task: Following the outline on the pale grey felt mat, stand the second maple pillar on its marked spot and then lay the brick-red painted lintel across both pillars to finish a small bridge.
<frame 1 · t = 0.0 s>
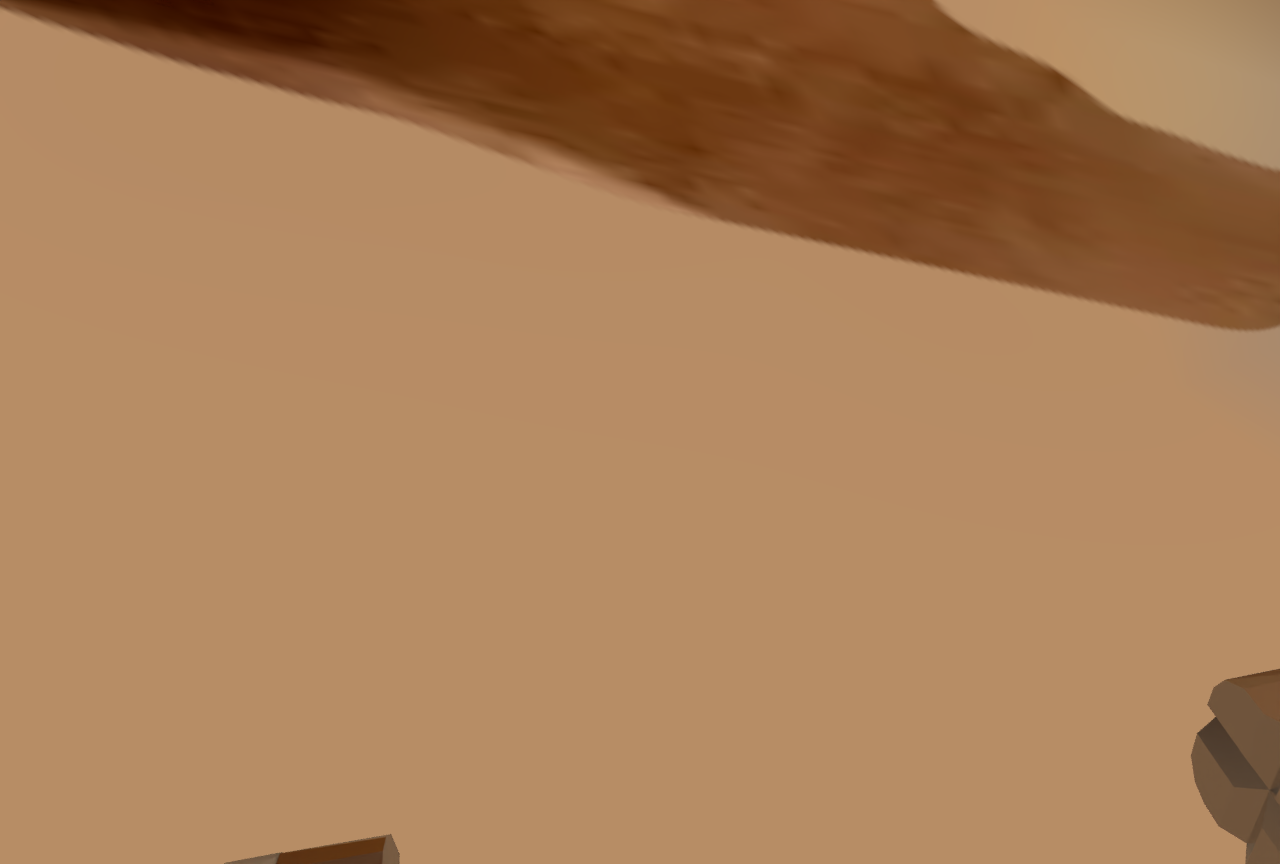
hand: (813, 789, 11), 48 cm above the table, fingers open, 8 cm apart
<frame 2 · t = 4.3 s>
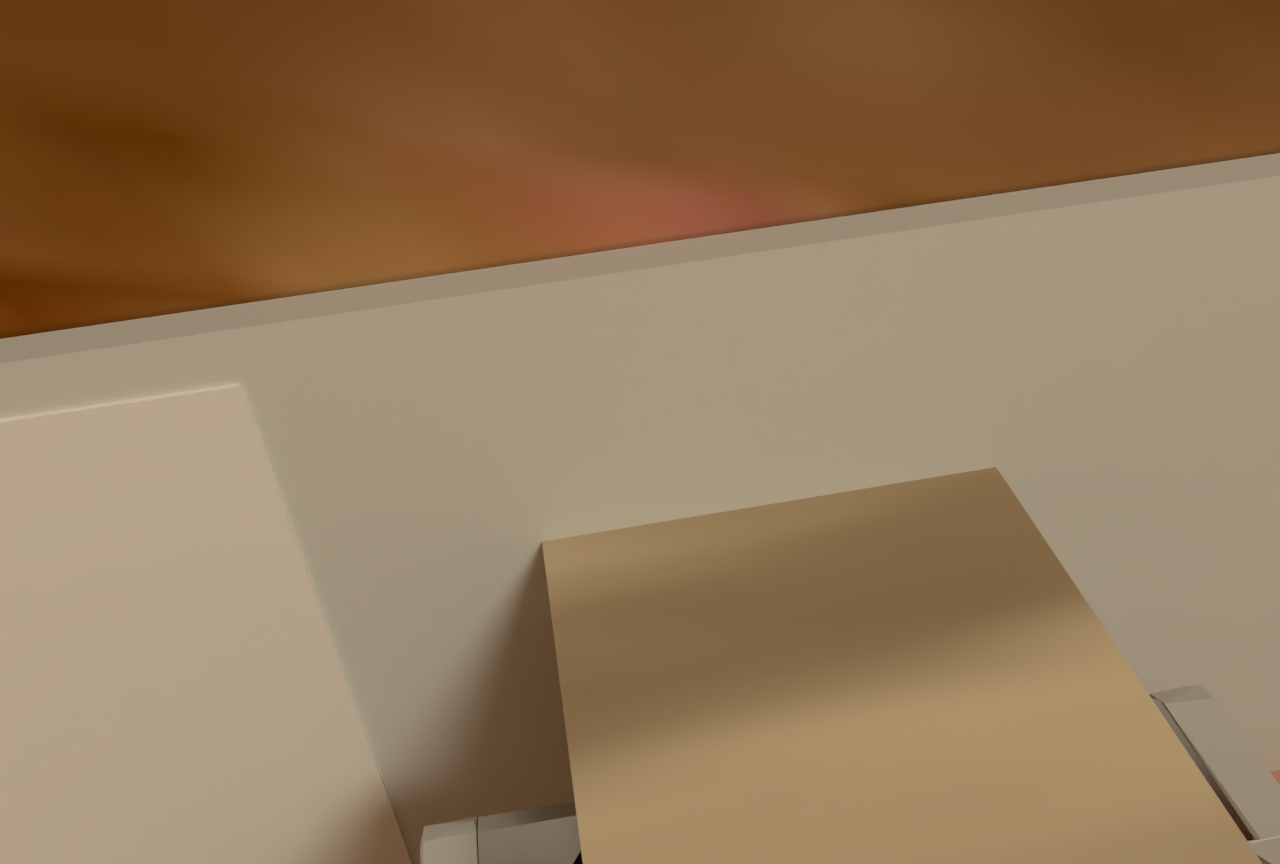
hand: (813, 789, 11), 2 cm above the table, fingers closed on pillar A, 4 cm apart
blueprint mat: (703, 743, 13), on the table
pillar A: (773, 659, 12), resting on blueprint mat, touching gripper
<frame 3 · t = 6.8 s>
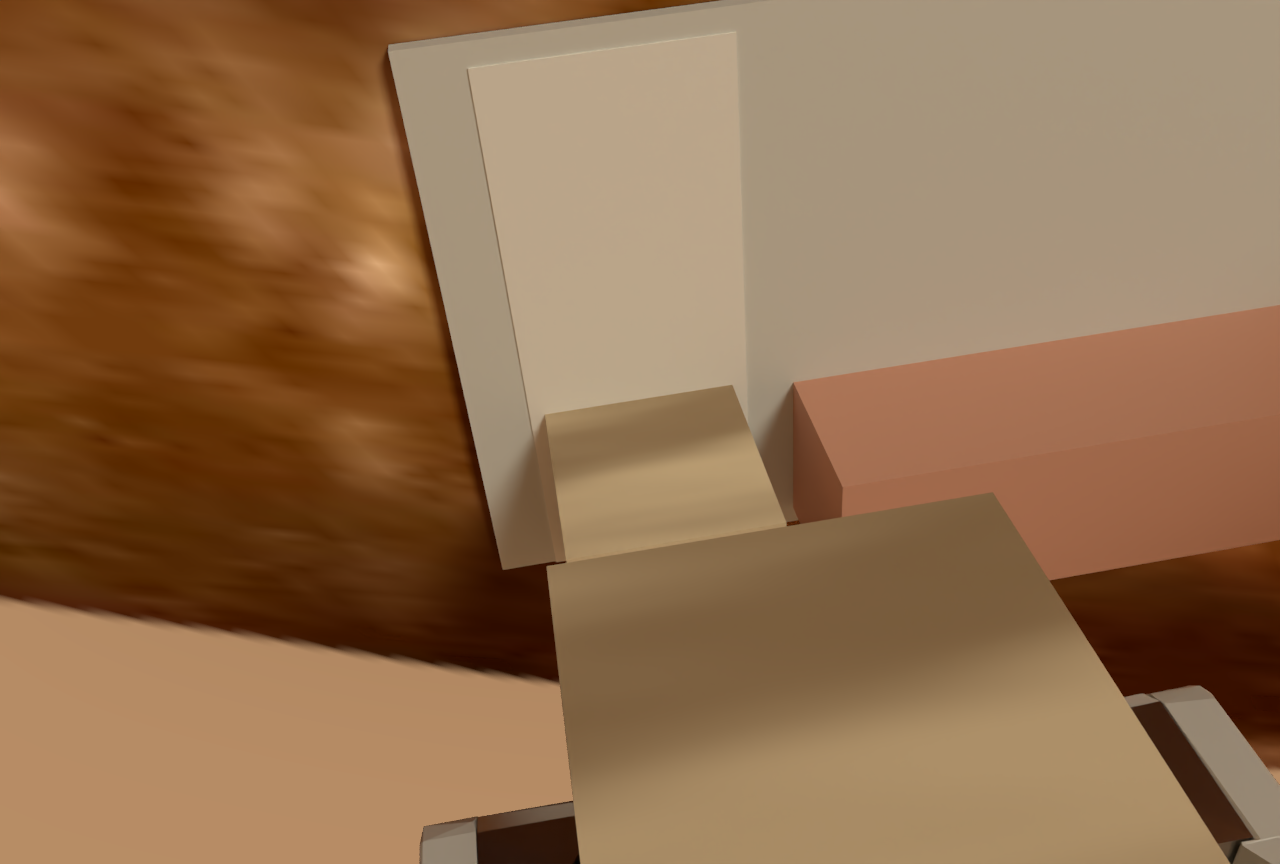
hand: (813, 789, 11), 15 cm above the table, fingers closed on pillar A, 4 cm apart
pillar B: (646, 472, 28), resting on blueprint mat
blueprint mat: (893, 277, 26), on the table
lintel: (1031, 408, 28), resting on blueprint mat
pillar A: (775, 680, 12), point 14 cm above the table, touching gripper
when the fingers open (3 cm above the table, at t = 9.3 s): pillar A stays where it is, resting on blueprint mat.
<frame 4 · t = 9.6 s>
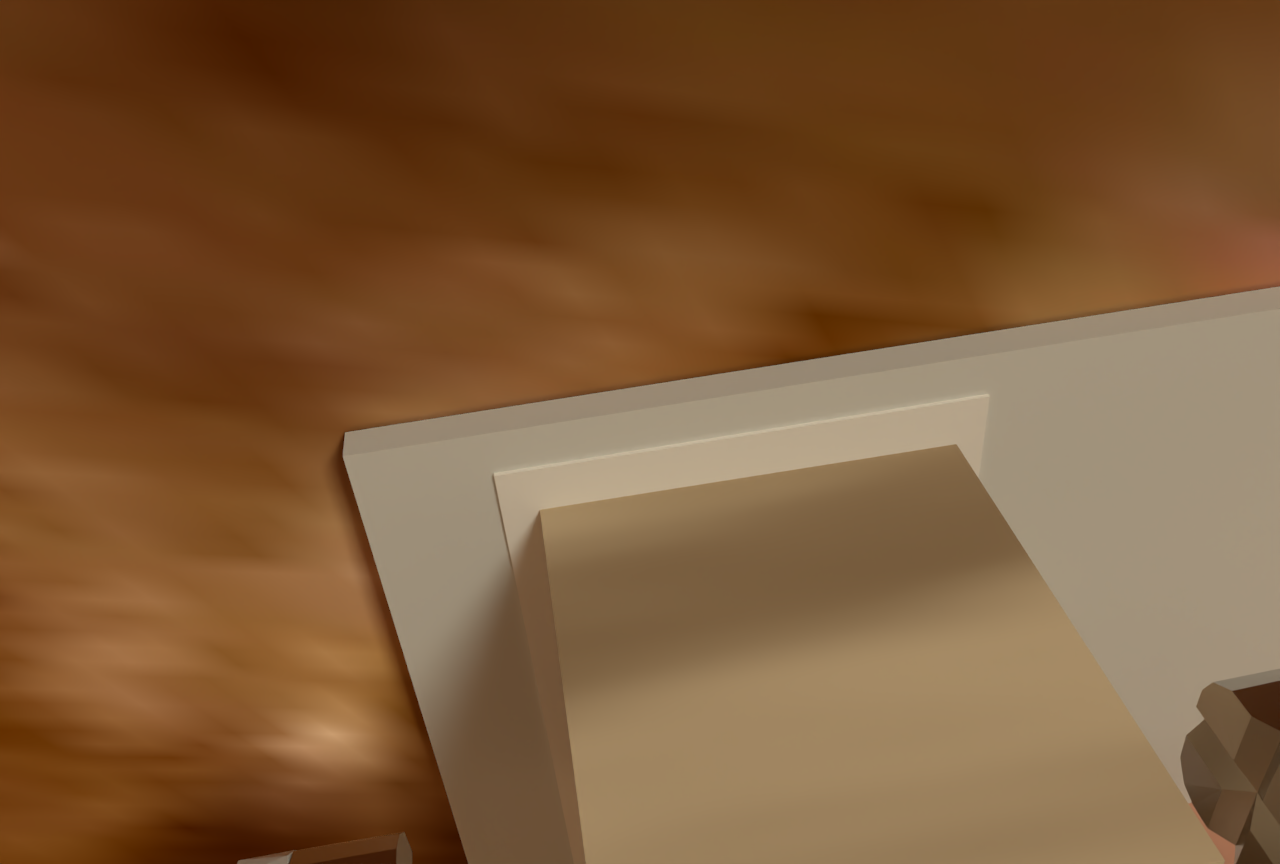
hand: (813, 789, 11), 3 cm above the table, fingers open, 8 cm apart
blueprint mat: (1172, 693, 16), on the table
pillar A: (753, 624, 13), resting on blueprint mat
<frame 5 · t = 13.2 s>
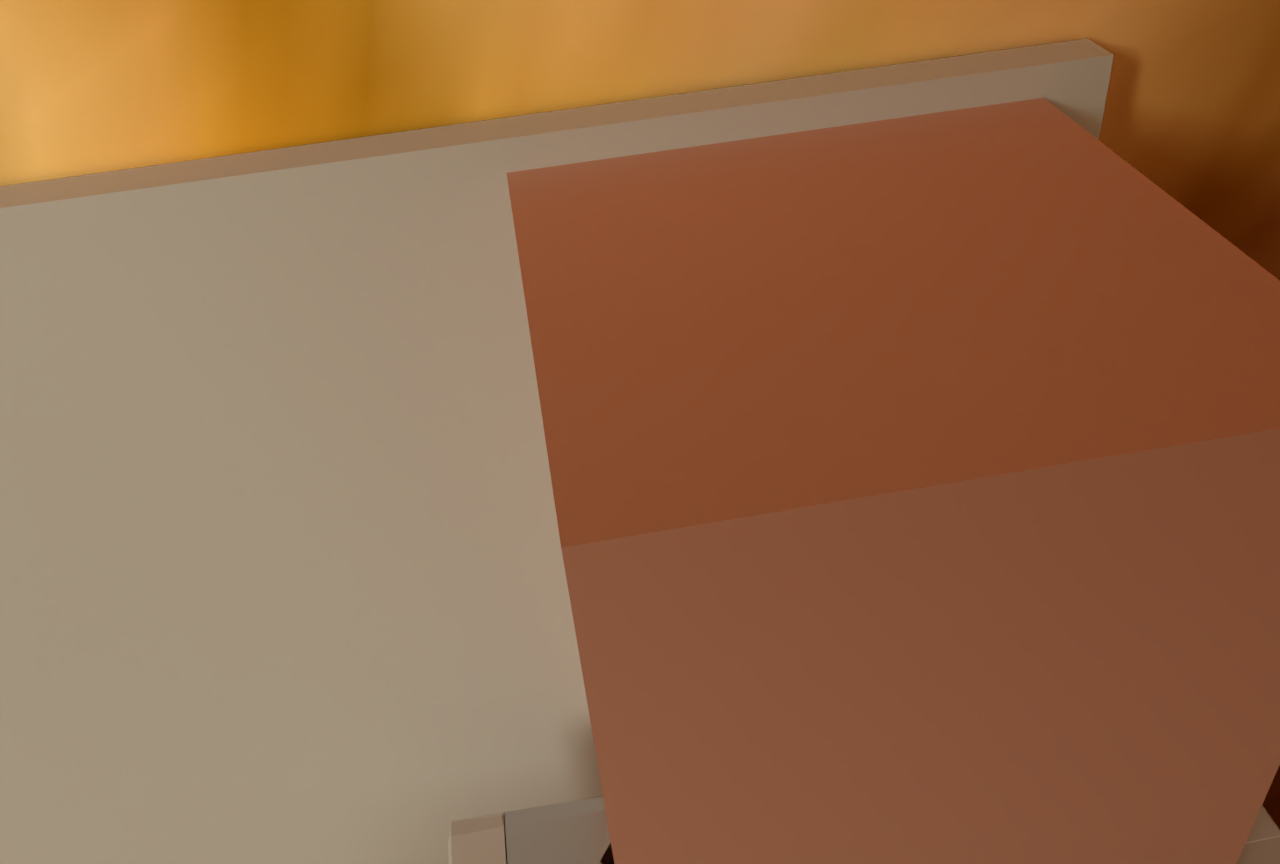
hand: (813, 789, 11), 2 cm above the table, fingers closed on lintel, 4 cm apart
lintel: (782, 695, 12), resting on blueprint mat, touching gripper
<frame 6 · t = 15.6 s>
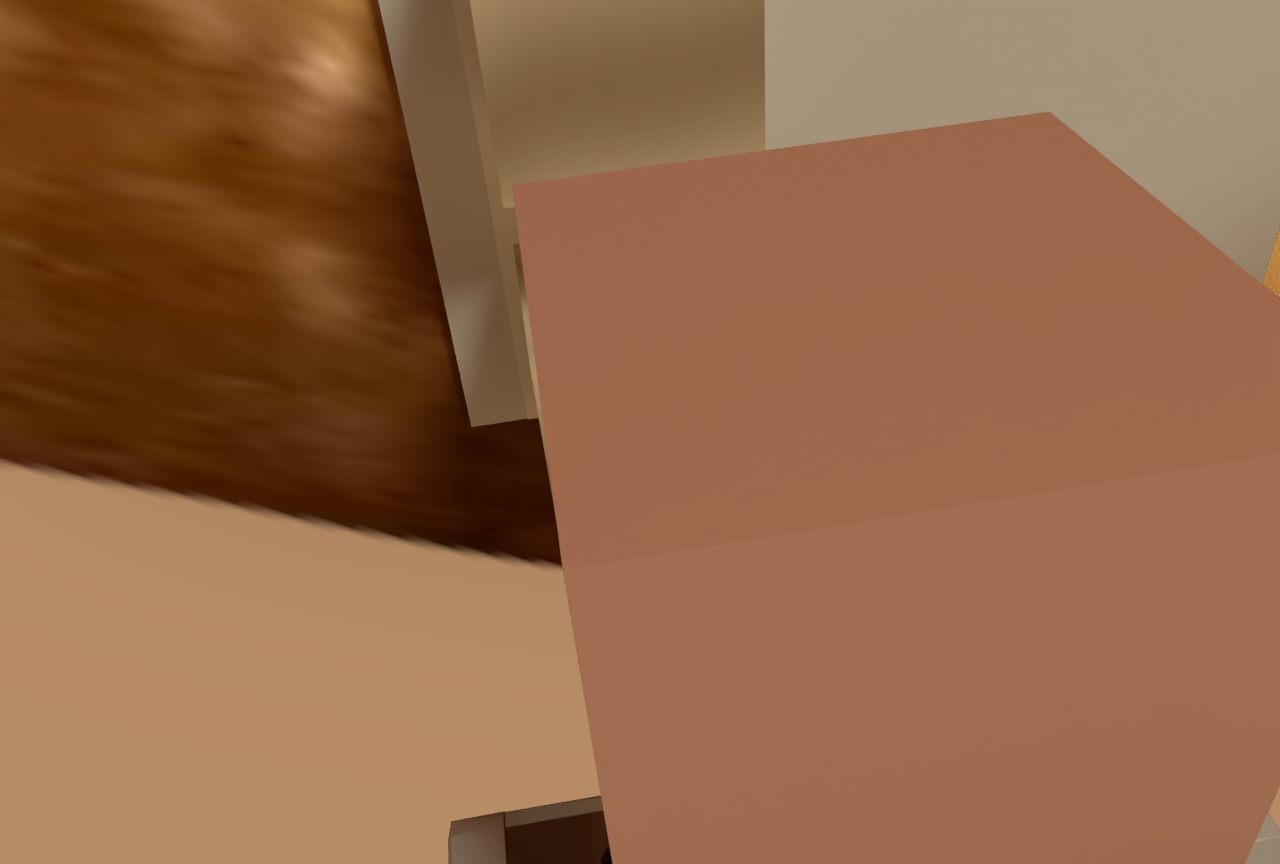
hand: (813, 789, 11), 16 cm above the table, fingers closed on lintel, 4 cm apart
pillar B: (622, 316, 26), resting on blueprint mat
blueprint mat: (883, 97, 24), on the table
lintel: (785, 703, 12), point 15 cm above the table, touching gripper
when the fingers open (7 cm above the table, at t = 17.9 s): lintel stays where it is, resting on pillar A, pillar B.
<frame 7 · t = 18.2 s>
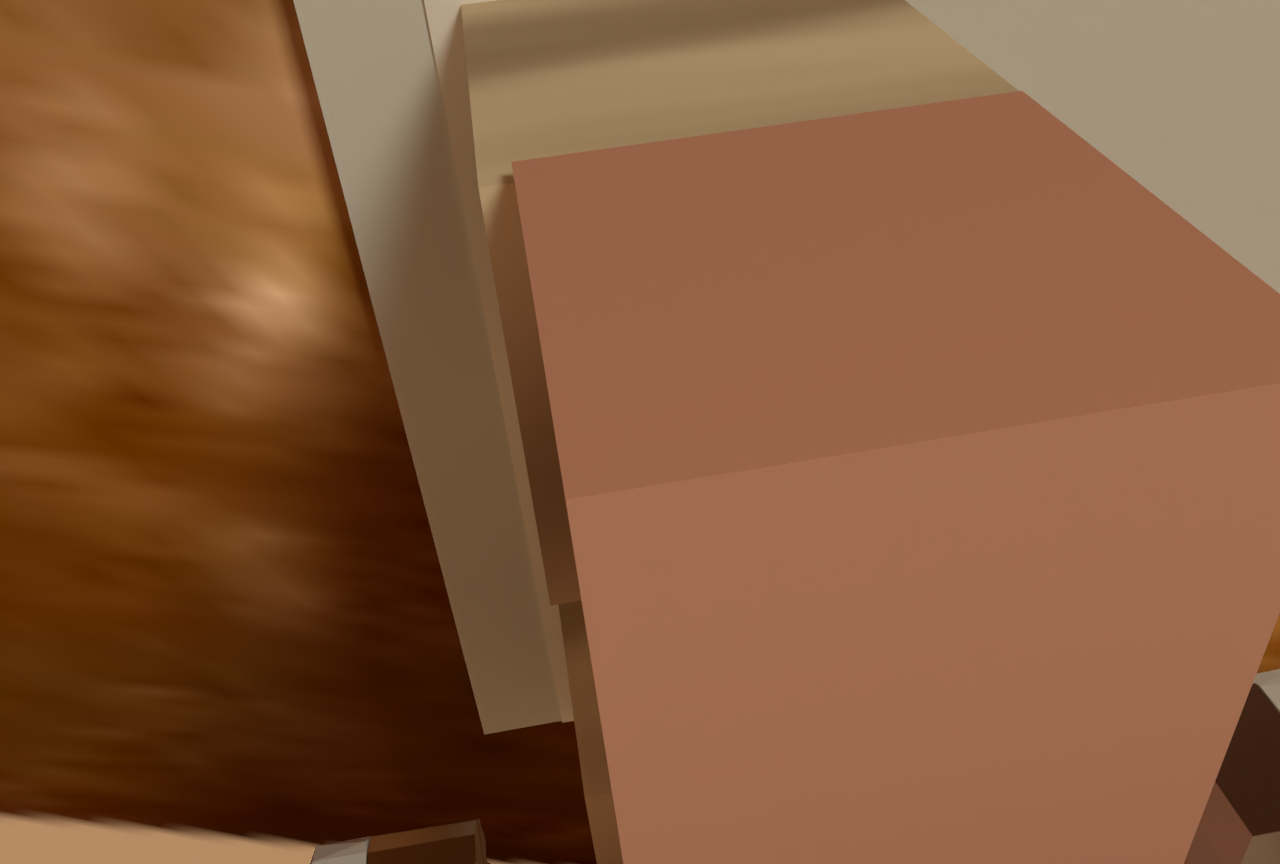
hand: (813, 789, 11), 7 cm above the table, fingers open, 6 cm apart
pillar B: (697, 600, 19), resting on blueprint mat, touching lintel
blueprint mat: (1082, 312, 17), on the table
lintel: (776, 670, 12), point 5 cm above the table, touching pillar A, pillar B
pillar A: (670, 167, 14), resting on blueprint mat, touching lintel
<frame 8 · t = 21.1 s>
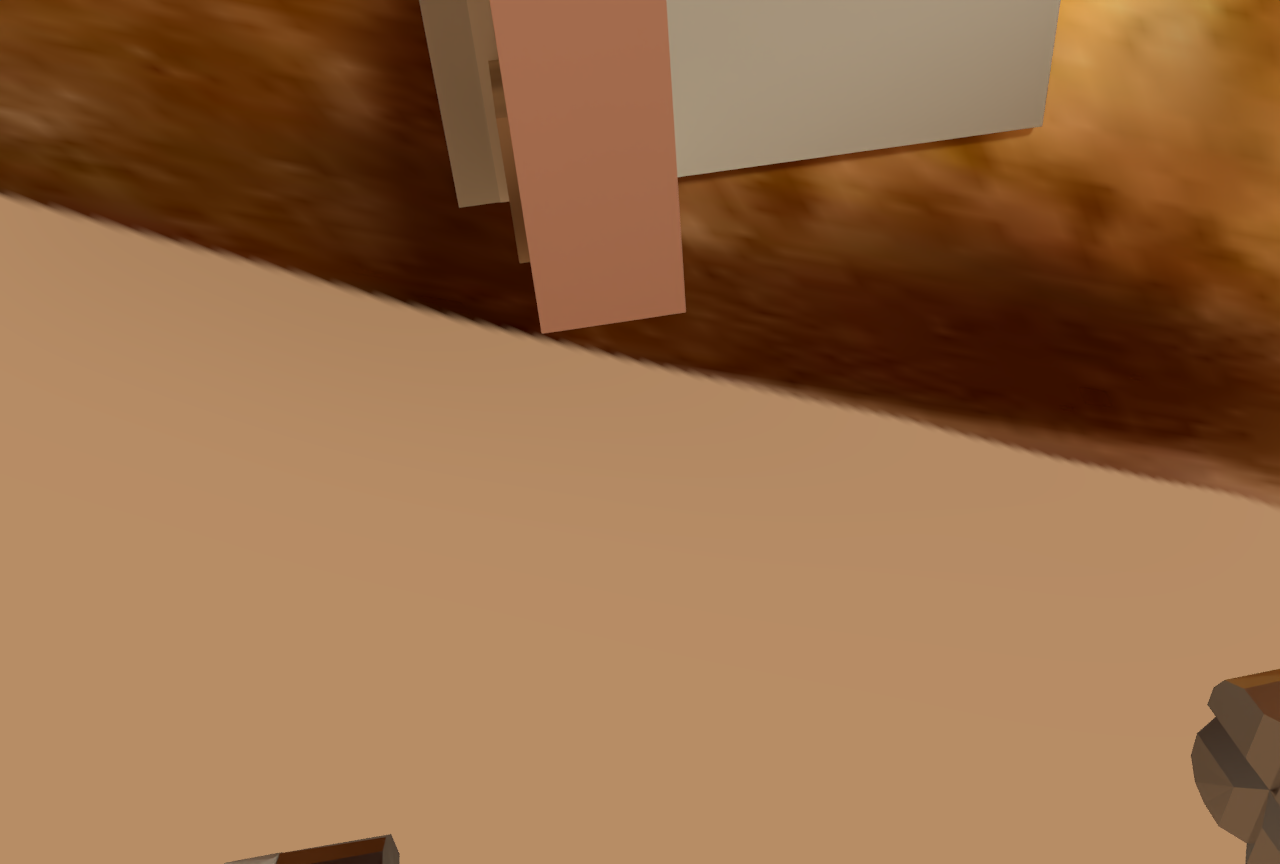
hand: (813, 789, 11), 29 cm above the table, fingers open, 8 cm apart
pillar B: (568, 120, 36), resting on blueprint mat, touching lintel
lintel: (572, 48, 30), point 5 cm above the table, touching pillar A, pillar B
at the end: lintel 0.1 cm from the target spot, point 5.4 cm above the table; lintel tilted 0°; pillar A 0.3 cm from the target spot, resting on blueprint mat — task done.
